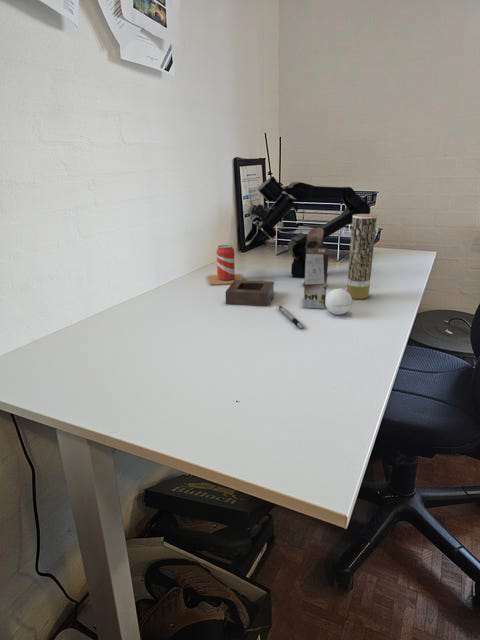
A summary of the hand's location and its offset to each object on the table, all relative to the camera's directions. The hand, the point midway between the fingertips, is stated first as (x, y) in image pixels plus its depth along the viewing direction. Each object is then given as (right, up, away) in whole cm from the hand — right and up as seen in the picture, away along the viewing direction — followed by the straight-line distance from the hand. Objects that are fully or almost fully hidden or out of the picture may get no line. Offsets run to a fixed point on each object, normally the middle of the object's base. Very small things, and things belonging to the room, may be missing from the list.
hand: (246, 243), depth 144 cm
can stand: (+1, -20, -17) cm, 27 cm away
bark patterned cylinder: (+35, -20, -17) cm, 43 cm away
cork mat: (-8, -12, +4) cm, 15 cm away
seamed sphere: (+26, -26, -32) cm, 48 cm away
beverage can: (-8, -12, +4) cm, 15 cm away
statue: (+23, -16, -6) cm, 28 cm away
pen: (+11, -27, -34) cm, 45 cm away
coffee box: (+20, -22, -23) cm, 38 cm away
